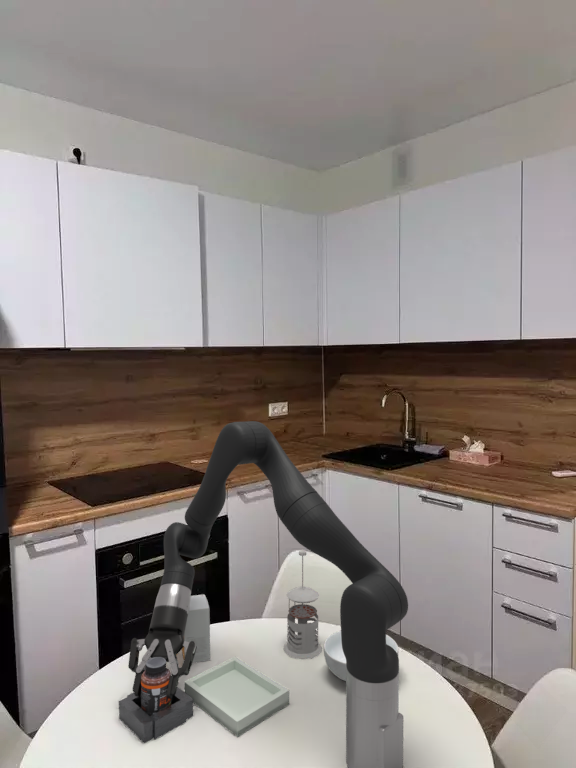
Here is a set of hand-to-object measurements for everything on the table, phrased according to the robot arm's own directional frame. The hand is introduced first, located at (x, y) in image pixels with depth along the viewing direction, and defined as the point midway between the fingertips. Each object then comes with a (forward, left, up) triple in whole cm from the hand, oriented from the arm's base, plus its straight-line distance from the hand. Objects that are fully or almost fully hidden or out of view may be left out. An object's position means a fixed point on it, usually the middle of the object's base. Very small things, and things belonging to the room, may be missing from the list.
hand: (153, 696), depth 105 cm
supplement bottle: (+1, -1, -6) cm, 6 cm away
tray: (-6, -16, -5) cm, 18 cm away
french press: (-1, -41, -6) cm, 42 cm away
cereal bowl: (-19, -42, -6) cm, 47 cm away
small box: (+15, -20, -6) cm, 26 cm away
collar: (+1, -1, -5) cm, 6 cm away
